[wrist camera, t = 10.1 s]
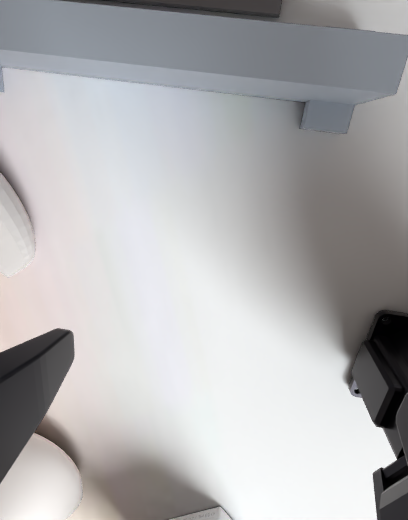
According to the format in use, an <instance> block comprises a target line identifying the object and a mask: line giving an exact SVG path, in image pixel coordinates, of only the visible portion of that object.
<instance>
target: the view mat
mask: <svg viewBox="0 0 408 520" xmlns="http://www.w3.org/2000/svg"><path fill="white" fill-rule="evenodd" d="M106 1H116V2H127V3H137V4H147V5H157V6H168V7H178V8H188V9H199V10H209V11H219V12H229V13H240V14H250V15H260V16H270V17H279V14H280V9H281V3H282V0H106Z"/></svg>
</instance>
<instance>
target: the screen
mask: <svg viewBox="0 0 408 520" xmlns="http://www.w3.org/2000/svg"><path fill="white" fill-rule="evenodd" d="M407 57H408V35H403V34H392V33H382V32H375V31H367V30H356V29H346V28H336V27H321V26H311V25H301V24H291V23H281V22H271V21H261V20H250V19H240V18H230V17H220V16H210V15H200V14H190V13H180V12H169V11H159V10H149V9H139V8H129V7H119V6H109V5H98V4H88V3H78V2H68V1H58V0H0V92H4V85H3V76H2V68H1V67H6V68H15V69H23V70H32V71H40V72H49V73H57V74H66V75H75V76H83V77H92V78H100V79H109V80H117V81H126V82H135V83H143V84H152V85H160V86H169V87H177V88H186V89H195V90H203V91H212V92H220V93H229V94H237V95H246V96H255V97H263V98H272V99H280V100H289V101H297V102H306V103H305V107H304V112H303V117H302V121H301V126H300V129H307V130H315V131H323V132H331V133H339V134H347V131H348V128H349V124H350V120H351V117H352V113H353V109H354V106H355V105H357V104H361V103H364V102H368V101H372V100H376V99H379V98H383V97H387V96H390V95H394V94H396V93H397V89H398V86H399V83H400V80H401V77H402V73H403V70H404V67H405V64H406V61H407Z"/></svg>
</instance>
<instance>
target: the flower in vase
mask: <svg viewBox="0 0 408 520" xmlns="http://www.w3.org/2000/svg"><path fill="white" fill-rule="evenodd" d="M82 495H83V490H82V479H81V476H80V473H79V470H78V468H77V467H76V465H75V463H74V462H73V461H72V459H71V458H70V457H69V456H68V455H67V454H66V453H65V452H64V451H63V450H62V449H61V448H59V447H58V446H57V445H55V444H54V443H53V442H51V441H49V440H48V439H46V438H44V437H42V436H40V435H38V434H36V433H33V435H32V436H31V438H30V439H29V441H28V442H27V444H26V445H25V447H24V448H23V450H22V451H21V453H20V455H19V456H18V458H17V459H16V461H15V462H14V464H13V465H12V467H11V468H10V470H9V471H8V473H7V474H6V476H5V478H4V479H3V481H2V482H1V484H0V520H66V519H67V518H68V517H69V516H70V515H71V514H72V513H73V512H74V511H75V510H76V508H77V507H78V506H79V504H80V503H81V500H82Z"/></svg>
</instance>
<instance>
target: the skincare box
mask: <svg viewBox="0 0 408 520" xmlns="http://www.w3.org/2000/svg"><path fill="white" fill-rule="evenodd" d="M169 520H232V519H231V518H230V517H229V516H228V515H227V513H226V512H225V511H224V510H223V509H222V508H221V507H216V508H212V509H208V510H204V511H200V512H196V513H192V514H188V515H184V516H181V517H177V518H173V519H169Z"/></svg>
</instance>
